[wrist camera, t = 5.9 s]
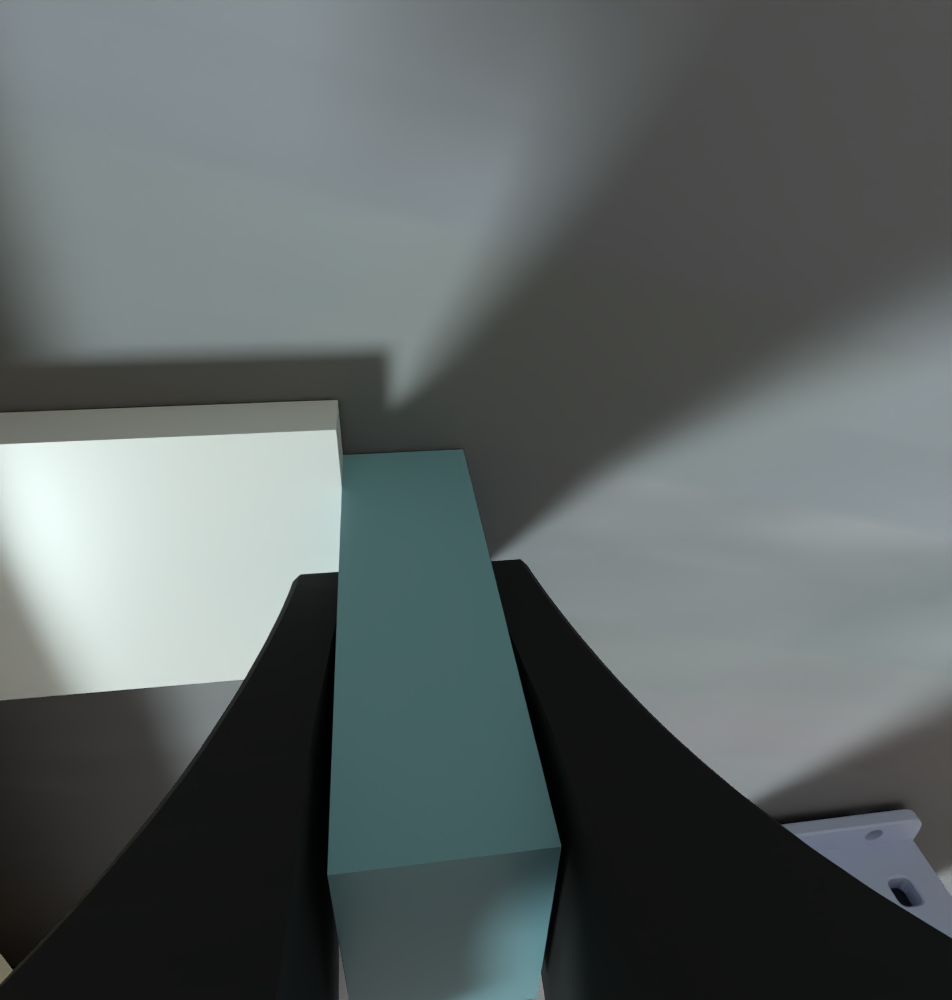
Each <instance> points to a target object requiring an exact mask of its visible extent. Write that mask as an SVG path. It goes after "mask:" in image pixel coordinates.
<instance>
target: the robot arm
mask: <svg viewBox="0 0 952 1000" xmlns="http://www.w3.org/2000/svg"><path fill="white" fill-rule="evenodd" d="M491 564H492V568H493V572H494V576H495V580H496V584H497V588H498V592H499V596H500V600H501V604H502V608H503V612H504V616H505V620H506V624H507V628H508V633H509V637H510V641H511V645H512V649H513V653H514V657H515V661H516V665H517V669H518V673H519V677H520V681H521V685H522V689H523V693H524V697H525V701H526V705H527V709H528V713H529V717H530V721H531V725H532V729H533V733H534V738H535V742H536V746H537V750H538V754H539V758H540V762H541V766H542V770H543V774H544V778H545V782H546V786H547V790H548V794H549V798H550V802H551V806H552V810H553V814H554V818H555V822H556V826H557V830H558V834H559V839H560V843H561V853H560V859H559V865H558V871H557V877H556V884H555V890H554V896H553V902H552V908H551V914H550V920H549V926H548V933H547V939H546V945H545V951H544V957H543V963H542V969H541V975H542V982H543V988H544V995H545V1000H952V896H951V895H950V894H949V892H948V891H947V889H946V888H945V886H944V885H943V883H942V882H941V880H940V879H939V877H938V876H937V874H936V873H935V872H934V870H933V869H932V867H931V866H930V864H929V863H928V861H927V860H926V858H925V857H924V855H923V854H922V852H921V851H920V850H919V848H918V847H917V845H916V844H915V842H914V841H913V839H914V838H915V836H916V835H917V833H918V832H919V830H920V828H921V825H922V823H921V821H920V820H919V818H918V817H917V815H916V814H915V813H914V811H912V810H909V809H901V810H893V811H885V812H877V813H869V814H861V815H853V816H845V817H837V818H829V819H821V820H813V821H805V822H797V823H789V824H780V823H778V822H777V821H776V820H774V819H773V818H772V817H770V816H769V815H768V814H767V813H765V812H764V811H763V810H761V809H760V808H759V807H757V806H756V805H755V804H753V803H752V802H751V801H749V800H748V799H747V798H745V797H744V796H743V795H742V794H740V793H739V792H738V791H737V790H735V789H734V788H733V787H732V786H731V785H729V784H728V783H727V782H726V781H725V780H724V779H722V778H721V777H720V776H719V775H718V774H716V773H715V772H714V771H713V770H712V769H711V768H709V767H708V766H707V765H706V764H705V763H703V762H702V761H701V760H700V759H699V758H698V757H697V756H696V755H694V754H693V753H692V752H691V751H690V750H689V749H688V748H687V747H686V746H685V745H683V744H682V743H681V742H680V741H679V740H678V739H677V738H676V737H675V736H674V735H672V734H671V733H670V732H669V731H668V730H667V729H666V728H665V727H664V726H663V725H662V724H661V723H660V722H659V721H658V720H657V719H656V718H655V717H654V716H653V715H652V714H651V713H650V712H649V711H648V710H647V709H646V708H645V707H644V706H643V705H642V704H641V703H640V702H639V701H638V700H637V699H636V698H635V697H634V696H633V695H632V694H631V693H630V692H629V691H628V690H627V688H626V687H625V686H624V685H623V684H622V683H621V682H620V681H619V680H618V679H617V678H616V677H615V676H614V674H613V673H612V672H611V671H610V670H609V669H608V668H607V667H606V666H605V665H604V663H603V662H602V661H601V660H600V659H599V658H598V656H597V655H596V654H595V653H594V652H593V650H592V649H591V648H590V647H589V646H588V645H587V643H586V642H585V641H584V640H583V639H582V638H581V636H580V635H579V634H578V633H577V632H576V630H575V629H574V628H573V627H572V625H571V624H570V623H569V622H568V620H567V619H566V618H565V617H564V615H563V614H562V613H561V611H560V610H559V609H558V608H557V606H556V605H555V604H554V602H553V601H552V600H551V598H550V597H549V596H548V594H547V593H546V592H545V590H544V589H543V587H542V586H541V585H540V583H539V582H538V580H537V579H536V578H535V576H534V575H533V573H532V572H531V570H530V569H529V567H528V566H527V565H526V564H525V563H524V562H523V561H522V560H521V559H517V560H503V561H491ZM338 574H339V572H328V573H313V574H300V575H299V576H298V577H297V578H296V579H295V580H294V581H293V583H292V585H291V588H290V591H289V593H288V596H287V598H286V600H285V603H284V605H283V607H282V609H281V611H280V614H279V616H278V618H277V620H276V622H275V624H274V626H273V628H272V630H271V632H270V634H269V636H268V638H267V640H266V642H265V643H264V645H263V647H262V649H261V651H260V653H259V654H258V656H257V658H256V660H255V661H254V663H253V665H252V667H251V668H250V670H249V672H248V674H247V676H246V677H245V679H244V681H243V683H242V684H241V686H240V688H239V689H238V691H237V693H236V694H235V696H234V698H233V699H232V701H231V702H230V704H229V705H228V707H227V709H226V710H225V712H224V713H223V715H222V716H221V718H220V719H219V721H218V722H217V724H216V725H215V727H214V729H213V730H212V732H211V733H210V735H209V736H208V738H207V739H206V741H205V742H204V744H203V745H202V747H201V748H200V750H199V751H198V753H197V754H196V756H195V757H194V758H193V760H192V761H191V763H190V764H189V765H188V767H187V768H186V770H185V771H184V772H183V774H182V775H181V777H180V778H179V779H178V781H177V782H176V783H175V785H174V786H173V787H172V789H171V790H170V791H169V793H168V794H167V795H166V797H165V798H164V799H163V800H162V802H161V803H160V804H159V806H158V807H157V808H156V810H155V811H154V812H153V813H152V815H151V816H150V817H149V819H148V820H147V821H146V822H145V824H144V825H143V826H142V827H141V828H140V830H139V831H138V832H137V833H136V834H135V836H134V837H133V838H132V839H131V840H130V842H129V843H128V844H127V845H126V846H125V848H124V849H123V850H122V851H121V852H120V854H119V855H118V856H117V857H116V858H115V860H114V861H113V862H112V863H111V865H110V866H109V867H108V868H107V869H106V870H105V872H104V873H103V874H102V875H101V876H100V877H99V879H98V880H97V881H96V882H95V883H94V884H93V885H92V887H91V888H90V889H89V890H88V891H87V892H86V893H85V894H84V896H83V897H82V898H81V899H80V900H79V901H78V902H77V903H76V904H75V906H74V907H73V908H72V909H71V910H70V911H69V912H68V913H67V914H66V915H65V916H64V917H63V918H62V919H61V920H60V921H59V923H58V924H57V925H56V926H55V927H54V928H53V929H52V930H51V931H50V932H49V933H48V934H47V935H46V936H45V937H44V938H43V939H42V940H41V942H40V943H39V944H38V945H37V946H36V947H35V948H34V949H33V950H32V951H31V952H30V953H29V954H28V955H27V956H26V957H25V958H24V959H23V961H22V962H21V963H20V964H19V965H18V966H17V967H16V968H15V969H14V970H13V971H12V972H11V973H10V974H9V975H8V976H7V977H6V978H5V980H4V981H3V982H2V983H1V984H0V1000H339V939H338V934H337V928H336V922H335V917H334V911H333V905H332V900H331V894H330V888H329V882H328V877H327V869H328V842H329V815H330V788H331V762H332V735H333V708H334V681H335V655H336V628H337V601H338Z"/></svg>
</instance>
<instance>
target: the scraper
mask: <svg viewBox="0 0 952 1000" xmlns="http://www.w3.org/2000/svg"><path fill="white" fill-rule="evenodd" d="M328 572H339V574H338V601H337V628H336V655H335V681H334V708H333V735H332V762H331V788H330V815H329V842H328V869H327V877H328V882H329V888H330V894H331V900H332V905H333V911H334V917H335V922H336V928H337V934H338V939H339V945H340V951H341V956H342V962H343V968H344V973H345V979H346V985H347V991H348V996H349V1000H527V999H533V998H537V994H538V988H539V981H540V975H541V969H542V963H543V957H544V951H545V945H546V939H547V933H548V926H549V920H550V914H551V908H552V902H553V896H554V890H555V884H556V877H557V871H558V865H559V859H560V853H561V843H560V839H559V834H558V830H557V826H556V822H555V818H554V814H553V810H552V806H551V802H550V798H549V794H548V790H547V786H546V782H545V778H544V774H543V770H542V766H541V762H540V758H539V754H538V750H537V746H536V742H535V738H534V733H533V729H532V725H531V721H530V717H529V713H528V709H527V705H526V701H525V697H524V693H523V689H522V685H521V681H520V677H519V673H518V669H517V665H516V661H515V657H514V653H513V649H512V645H511V641H510V637H509V633H508V628H507V624H506V620H505V616H504V612H503V608H502V604H501V600H500V596H499V592H498V588H497V584H496V580H495V576H494V572H493V568H492V564H491V560H490V556H489V552H488V548H487V544H486V540H485V536H484V532H483V528H482V523H481V519H480V515H479V511H478V507H477V503H476V499H475V495H474V491H473V487H472V483H471V479H470V475H469V471H468V467H467V463H466V459H465V455H464V451H463V449H458V450H437V451H417V452H396V453H375V454H354V455H343V450H342V440H341V429H340V418H339V408H338V400H322V401H296V402H270V403H243V404H217V405H191V406H165V407H138V408H112V409H86V410H60V411H33V412H7V413H0V700H12V699H23V698H35V697H46V696H58V695H69V694H81V693H93V692H104V691H116V690H127V689H139V688H150V687H162V686H174V685H185V684H197V683H208V682H220V681H231V680H243V679H245V677H246V676H247V674H248V672H249V670H250V668H251V667H252V665H253V663H254V661H255V660H256V658H257V656H258V654H259V653H260V651H261V649H262V647H263V645H264V643H265V642H266V640H267V638H268V636H269V634H270V632H271V630H272V628H273V626H274V624H275V622H276V620H277V618H278V616H279V614H280V611H281V609H282V607H283V605H284V603H285V600H286V598H287V596H288V593H289V591H290V588H291V585H292V583H293V581H294V580H295V579H296V578H297V577H298V576H299V575H300V574H313V573H328Z"/></svg>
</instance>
